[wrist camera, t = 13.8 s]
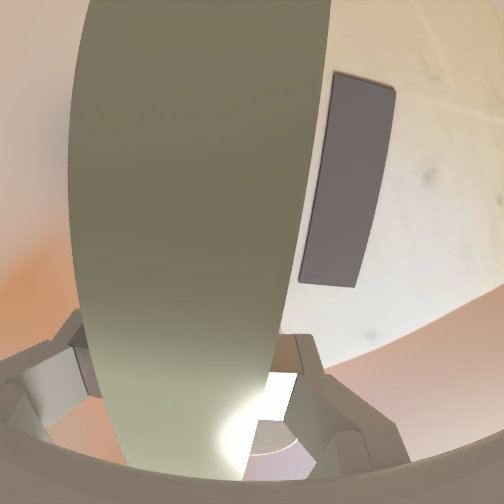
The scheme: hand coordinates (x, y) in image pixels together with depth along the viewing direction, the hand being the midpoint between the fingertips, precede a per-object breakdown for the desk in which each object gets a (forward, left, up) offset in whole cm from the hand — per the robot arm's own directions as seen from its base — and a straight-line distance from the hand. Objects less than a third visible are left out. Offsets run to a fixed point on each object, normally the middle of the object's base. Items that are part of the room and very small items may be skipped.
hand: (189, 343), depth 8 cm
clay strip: (0, 0, -2) cm, 2 cm away
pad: (-11, -1, -20) cm, 23 cm away
